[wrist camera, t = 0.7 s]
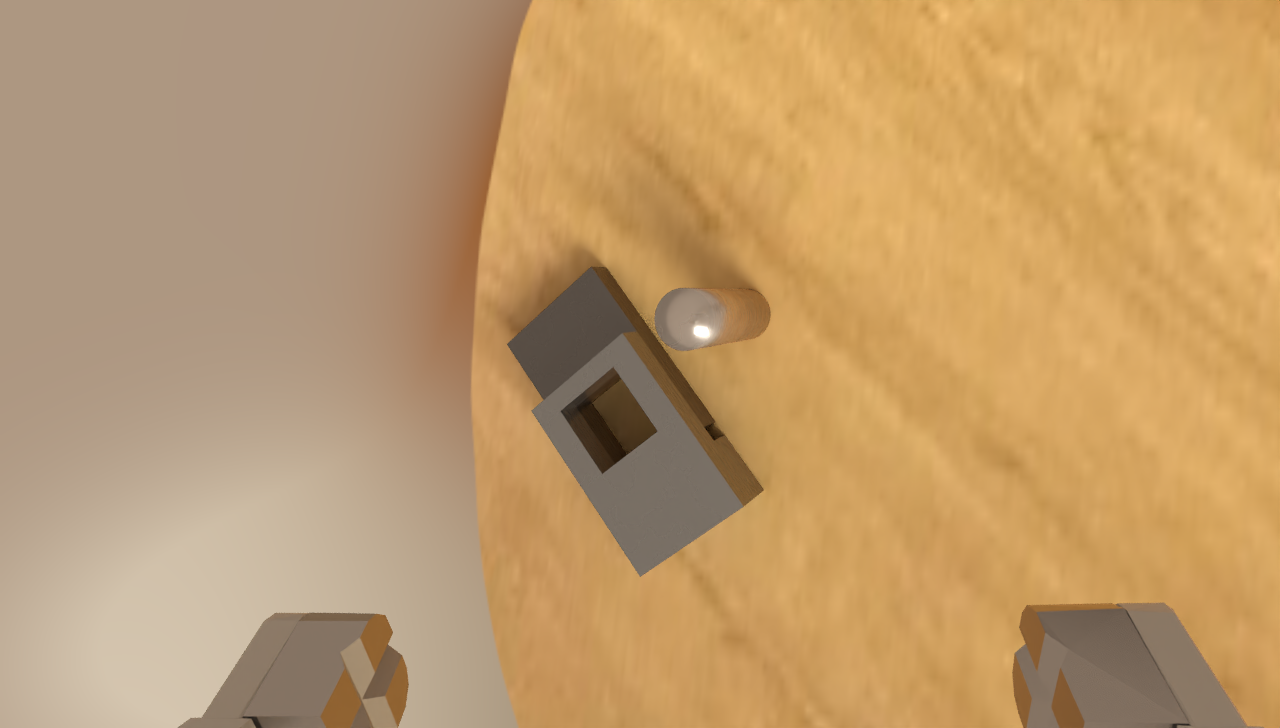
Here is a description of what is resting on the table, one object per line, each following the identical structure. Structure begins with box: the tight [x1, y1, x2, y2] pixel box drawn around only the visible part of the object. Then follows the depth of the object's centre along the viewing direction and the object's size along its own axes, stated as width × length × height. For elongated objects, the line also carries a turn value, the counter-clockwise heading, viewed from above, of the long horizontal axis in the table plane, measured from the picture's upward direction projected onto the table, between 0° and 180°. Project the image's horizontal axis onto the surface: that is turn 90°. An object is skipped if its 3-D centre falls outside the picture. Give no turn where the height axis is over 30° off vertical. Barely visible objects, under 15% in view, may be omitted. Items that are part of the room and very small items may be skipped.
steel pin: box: [655, 288, 771, 351], centre depth 42 cm, size 3×3×10 cm
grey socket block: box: [507, 267, 763, 577], centre depth 49 cm, size 8×17×4 cm, turn 39°
